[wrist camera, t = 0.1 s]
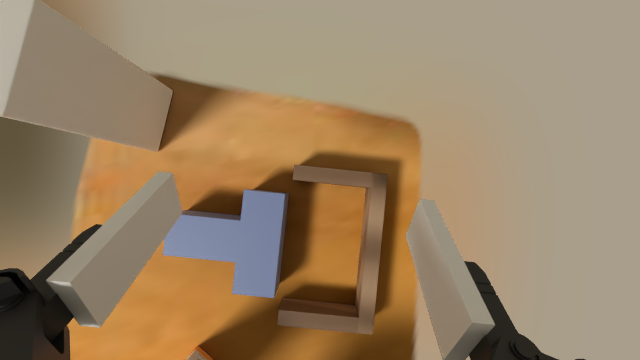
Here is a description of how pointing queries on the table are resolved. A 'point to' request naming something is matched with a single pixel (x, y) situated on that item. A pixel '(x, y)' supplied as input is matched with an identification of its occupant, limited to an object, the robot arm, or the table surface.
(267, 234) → the slate blue t block
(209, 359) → the supplement box
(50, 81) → the milk carton
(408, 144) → the table surface
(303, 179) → the walnut dock
